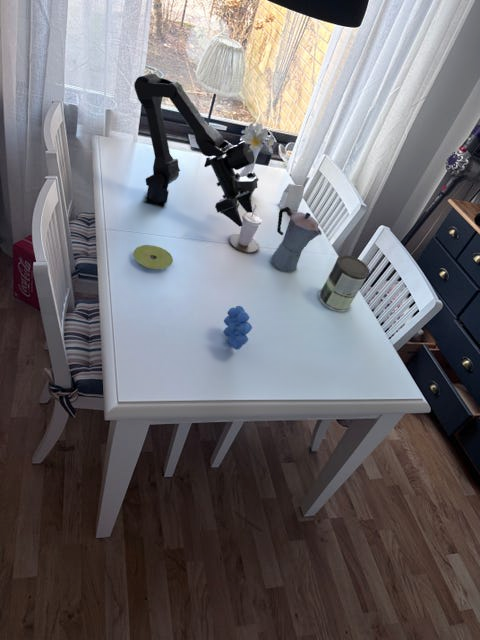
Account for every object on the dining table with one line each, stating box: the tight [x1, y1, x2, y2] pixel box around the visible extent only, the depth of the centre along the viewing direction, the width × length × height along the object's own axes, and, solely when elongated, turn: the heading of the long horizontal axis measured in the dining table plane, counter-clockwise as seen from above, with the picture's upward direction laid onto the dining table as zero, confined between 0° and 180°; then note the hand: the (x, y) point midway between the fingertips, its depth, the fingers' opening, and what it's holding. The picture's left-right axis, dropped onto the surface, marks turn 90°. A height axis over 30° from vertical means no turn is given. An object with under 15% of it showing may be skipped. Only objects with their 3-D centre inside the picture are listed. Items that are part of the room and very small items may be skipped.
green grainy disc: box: [132, 244, 174, 270], centre depth 137 cm, size 11×11×2 cm
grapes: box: [222, 305, 253, 350], centre depth 118 cm, size 12×7×12 cm, turn 18°
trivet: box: [228, 233, 259, 254], centre depth 158 cm, size 10×10×1 cm
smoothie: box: [238, 204, 263, 246], centre depth 154 cm, size 6×6×14 cm
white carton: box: [278, 183, 306, 212], centre depth 185 cm, size 4×7×10 cm, turn 107°
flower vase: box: [238, 122, 275, 177], centre depth 181 cm, size 13×18×25 cm
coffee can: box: [318, 254, 370, 313], centre depth 145 cm, size 10×10×14 cm
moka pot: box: [270, 207, 322, 273], centre depth 151 cm, size 10×15×20 cm, turn 58°
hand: (246, 220), depth 154 cm, fingers open, 9 cm apart
